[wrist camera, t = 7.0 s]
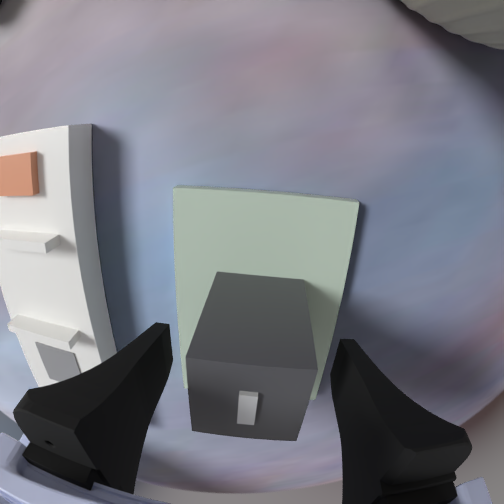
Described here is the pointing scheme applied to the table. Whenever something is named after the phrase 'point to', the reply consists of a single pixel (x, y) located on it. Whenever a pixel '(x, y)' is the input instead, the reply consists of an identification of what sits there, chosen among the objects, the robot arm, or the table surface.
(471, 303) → the table surface
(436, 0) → the canister
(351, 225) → the mat
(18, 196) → the power strip
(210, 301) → the block
